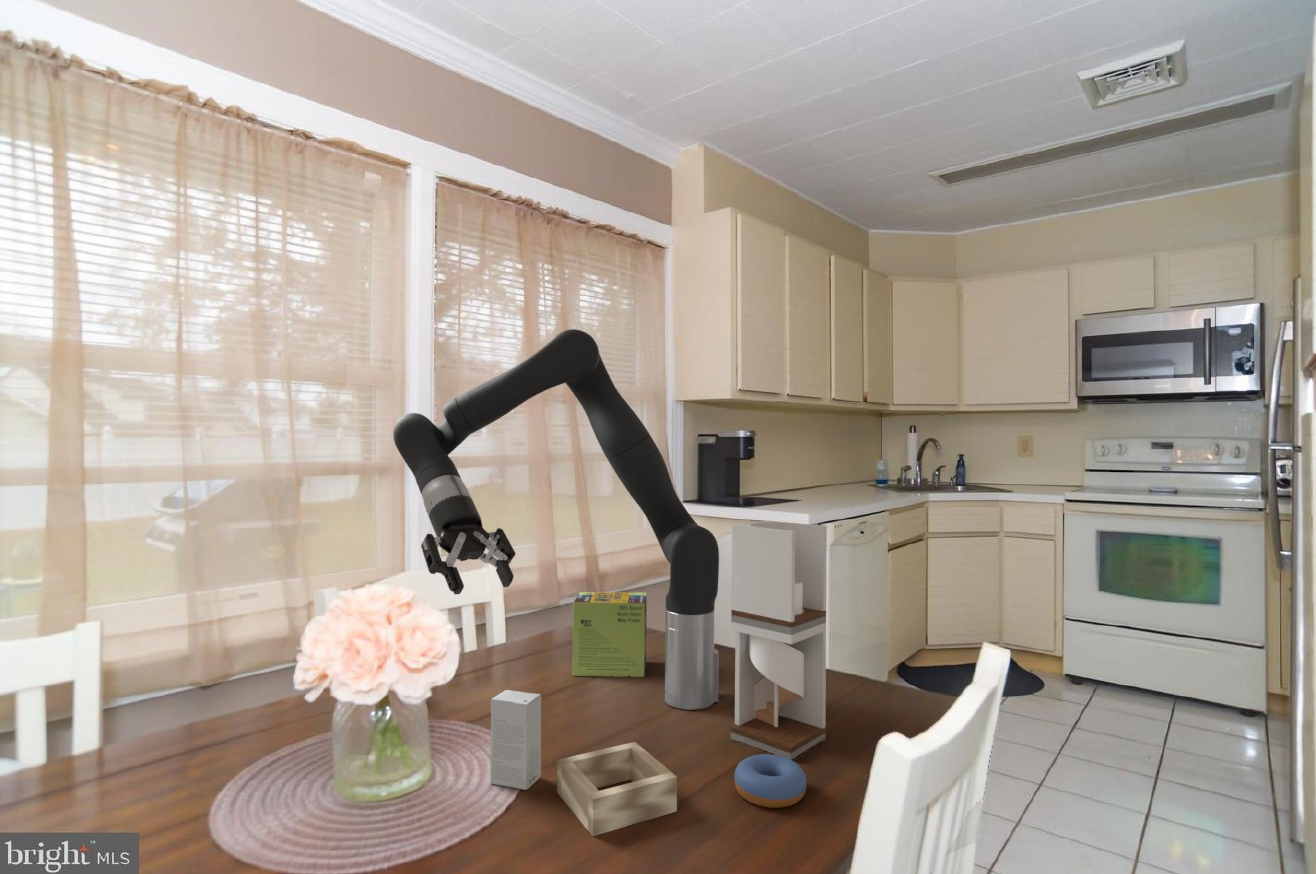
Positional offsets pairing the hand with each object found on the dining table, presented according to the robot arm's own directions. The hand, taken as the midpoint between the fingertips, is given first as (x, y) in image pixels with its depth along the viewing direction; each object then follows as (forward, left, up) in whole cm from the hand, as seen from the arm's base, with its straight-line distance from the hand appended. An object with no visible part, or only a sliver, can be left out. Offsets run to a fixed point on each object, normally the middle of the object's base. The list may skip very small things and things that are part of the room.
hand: (485, 587), depth 105 cm
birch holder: (-12, +23, -26) cm, 36 cm away
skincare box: (-2, +11, -26) cm, 28 cm away
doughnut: (-32, +31, -26) cm, 51 cm away
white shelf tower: (-44, +18, -26) cm, 54 cm away
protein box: (-35, -27, -26) cm, 51 cm away
